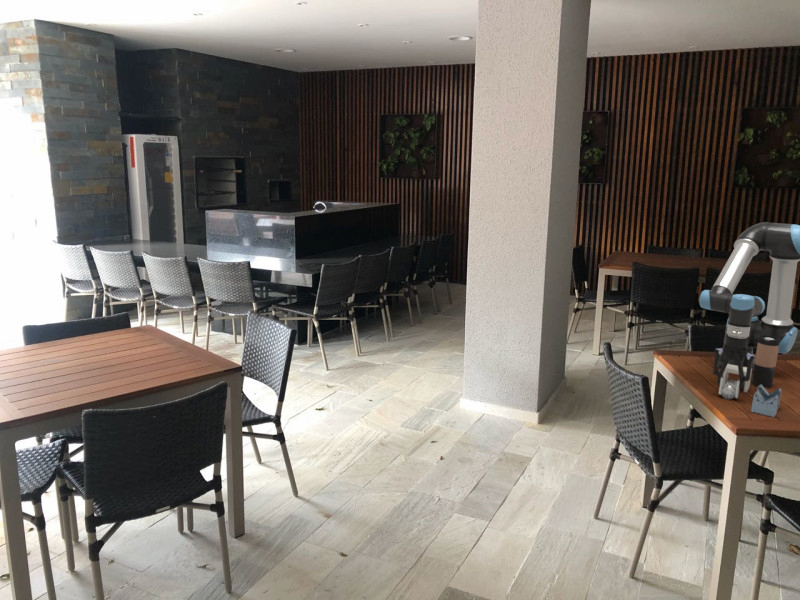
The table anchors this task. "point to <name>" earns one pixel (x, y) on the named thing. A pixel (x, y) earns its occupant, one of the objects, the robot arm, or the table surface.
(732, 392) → the axle
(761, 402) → the v block
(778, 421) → the table surface
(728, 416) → the table surface
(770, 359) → the travel mug
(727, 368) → the u shaped block
